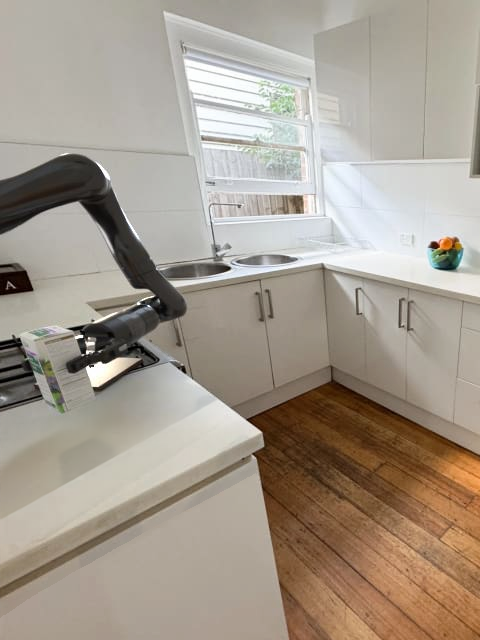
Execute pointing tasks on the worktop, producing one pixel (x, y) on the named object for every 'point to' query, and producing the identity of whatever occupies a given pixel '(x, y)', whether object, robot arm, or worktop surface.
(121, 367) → the walnut board
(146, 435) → the worktop surface
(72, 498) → the worktop surface
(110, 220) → the robot arm
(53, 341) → the syrup box
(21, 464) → the worktop surface
